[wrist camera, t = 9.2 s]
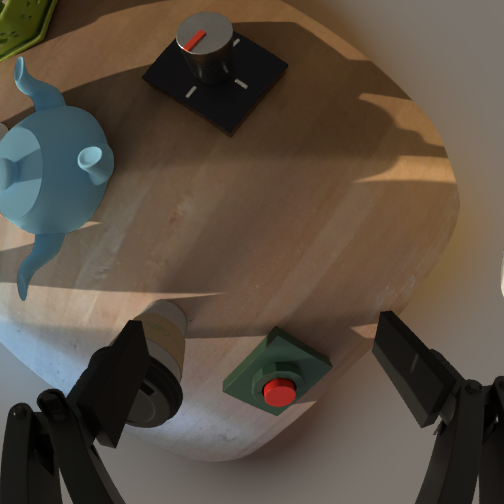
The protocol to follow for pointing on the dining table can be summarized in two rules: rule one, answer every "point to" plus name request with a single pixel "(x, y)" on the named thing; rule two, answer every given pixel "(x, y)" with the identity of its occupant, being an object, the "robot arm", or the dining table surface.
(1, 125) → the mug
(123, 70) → the dining table surface
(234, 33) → the panel
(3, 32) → the flower pot
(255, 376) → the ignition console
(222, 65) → the stove knob
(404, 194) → the dining table surface
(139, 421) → the coffee cup
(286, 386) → the button
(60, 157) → the teapot
